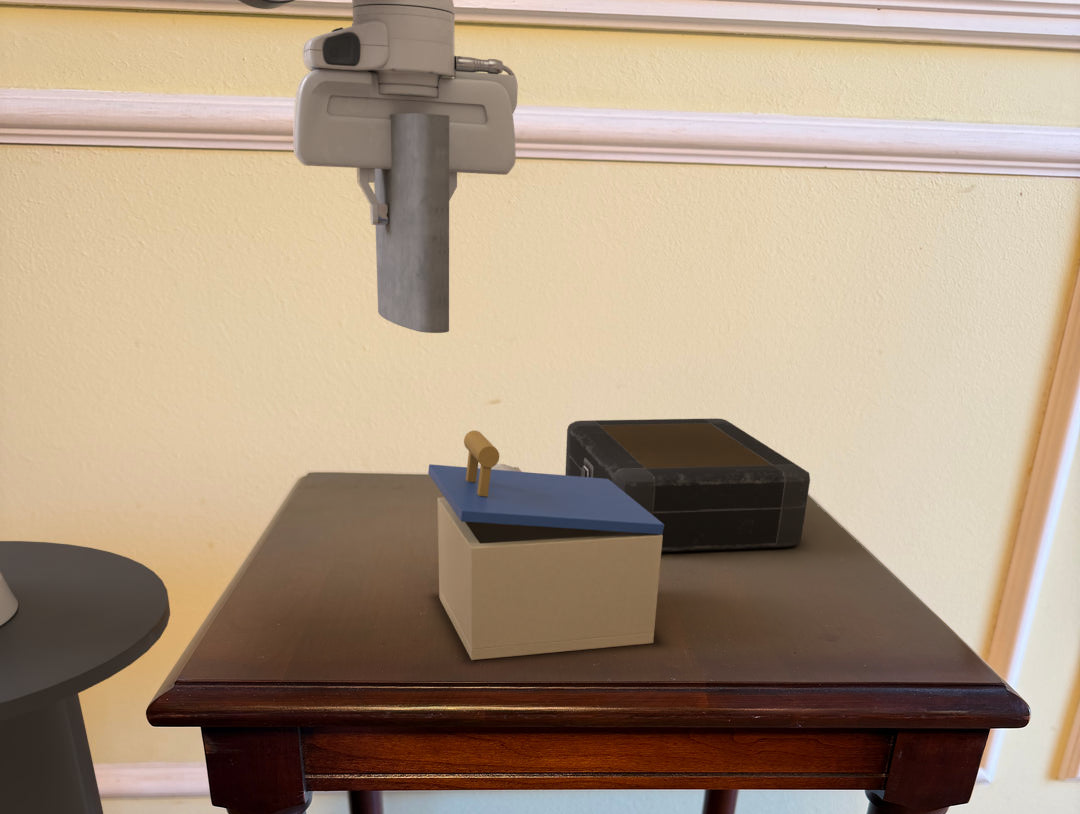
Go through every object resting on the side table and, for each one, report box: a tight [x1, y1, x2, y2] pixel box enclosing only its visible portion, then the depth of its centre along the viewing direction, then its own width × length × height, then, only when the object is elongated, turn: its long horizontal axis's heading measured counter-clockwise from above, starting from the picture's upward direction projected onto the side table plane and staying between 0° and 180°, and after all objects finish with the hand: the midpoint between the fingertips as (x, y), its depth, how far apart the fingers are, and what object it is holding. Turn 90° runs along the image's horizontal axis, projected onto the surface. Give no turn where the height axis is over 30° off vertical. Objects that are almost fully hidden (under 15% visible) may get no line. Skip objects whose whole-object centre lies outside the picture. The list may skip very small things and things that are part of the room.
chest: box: [437, 496, 663, 661], centre depth 83 cm, size 15×13×9 cm
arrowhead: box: [478, 463, 523, 472], centre depth 121 cm, size 7×2×10 cm
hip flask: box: [373, 113, 450, 334], centre depth 96 cm, size 16×4×20 cm, turn 24°
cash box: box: [564, 418, 811, 554], centre depth 109 cm, size 25×20×8 cm
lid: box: [427, 430, 664, 534], centre depth 79 cm, size 16×13×5 cm
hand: (407, 225), depth 97 cm, fingers closed on hip flask, 4 cm apart
